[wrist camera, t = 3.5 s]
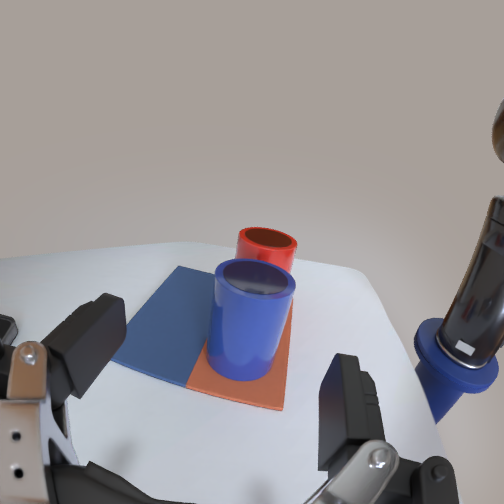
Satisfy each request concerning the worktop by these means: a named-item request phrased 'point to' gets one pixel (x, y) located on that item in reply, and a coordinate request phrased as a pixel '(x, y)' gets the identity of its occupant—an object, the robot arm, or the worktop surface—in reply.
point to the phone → (7, 329)
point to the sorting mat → (194, 343)
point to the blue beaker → (247, 317)
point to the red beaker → (266, 246)
